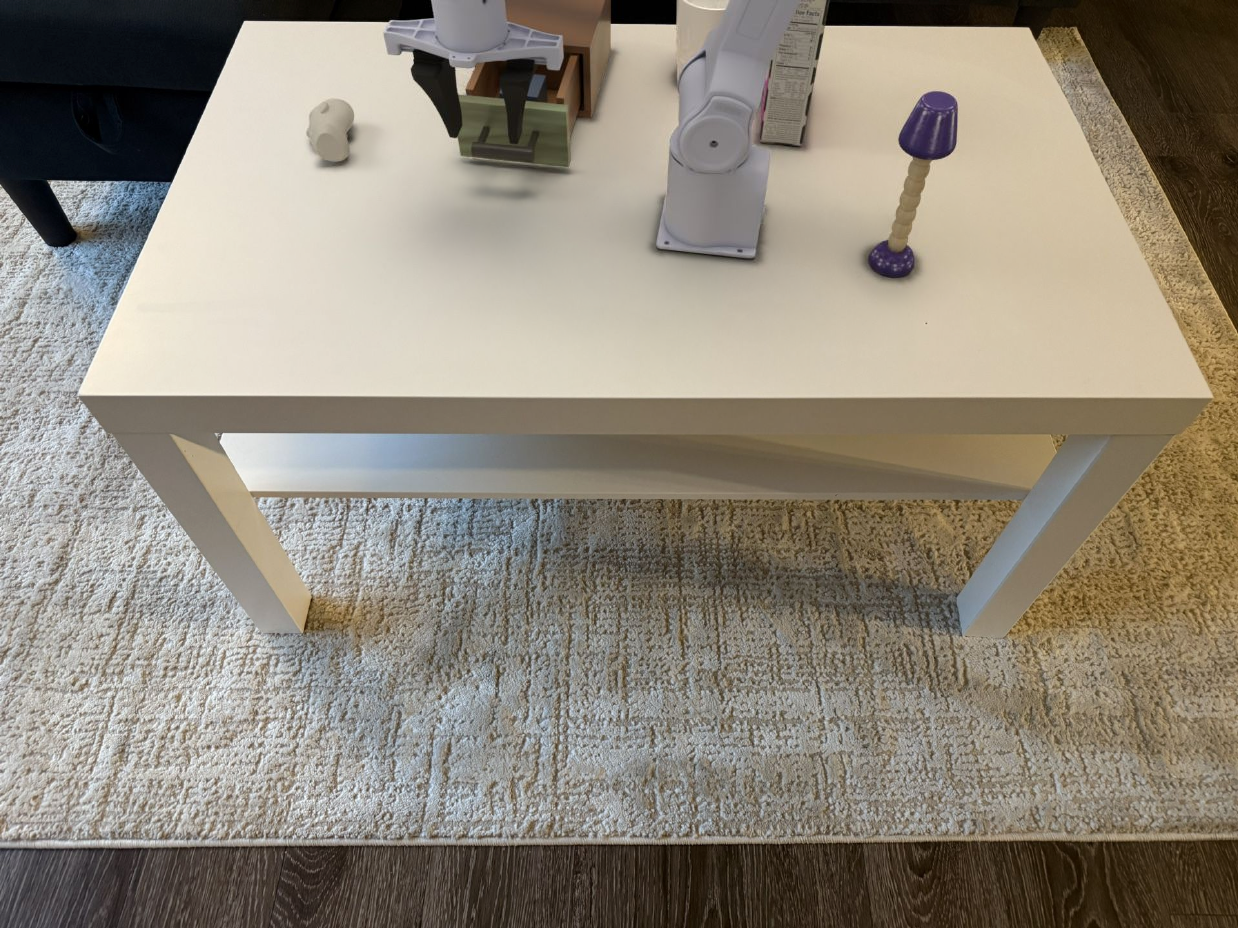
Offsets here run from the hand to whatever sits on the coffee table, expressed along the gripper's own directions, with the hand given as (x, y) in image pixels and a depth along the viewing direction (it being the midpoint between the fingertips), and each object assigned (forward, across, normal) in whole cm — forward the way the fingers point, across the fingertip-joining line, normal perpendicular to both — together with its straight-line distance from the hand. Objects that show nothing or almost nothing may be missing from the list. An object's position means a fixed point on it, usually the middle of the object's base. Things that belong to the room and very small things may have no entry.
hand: (486, 134), depth 78 cm
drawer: (+9, 0, +12) cm, 15 cm away
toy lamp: (+10, +38, 0) cm, 39 cm away
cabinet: (+9, 0, +25) cm, 27 cm away
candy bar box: (+10, +27, +22) cm, 36 cm away
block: (+7, 0, +14) cm, 16 cm away
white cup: (+10, +18, +28) cm, 35 cm away
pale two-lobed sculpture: (+10, -20, +9) cm, 24 cm away
